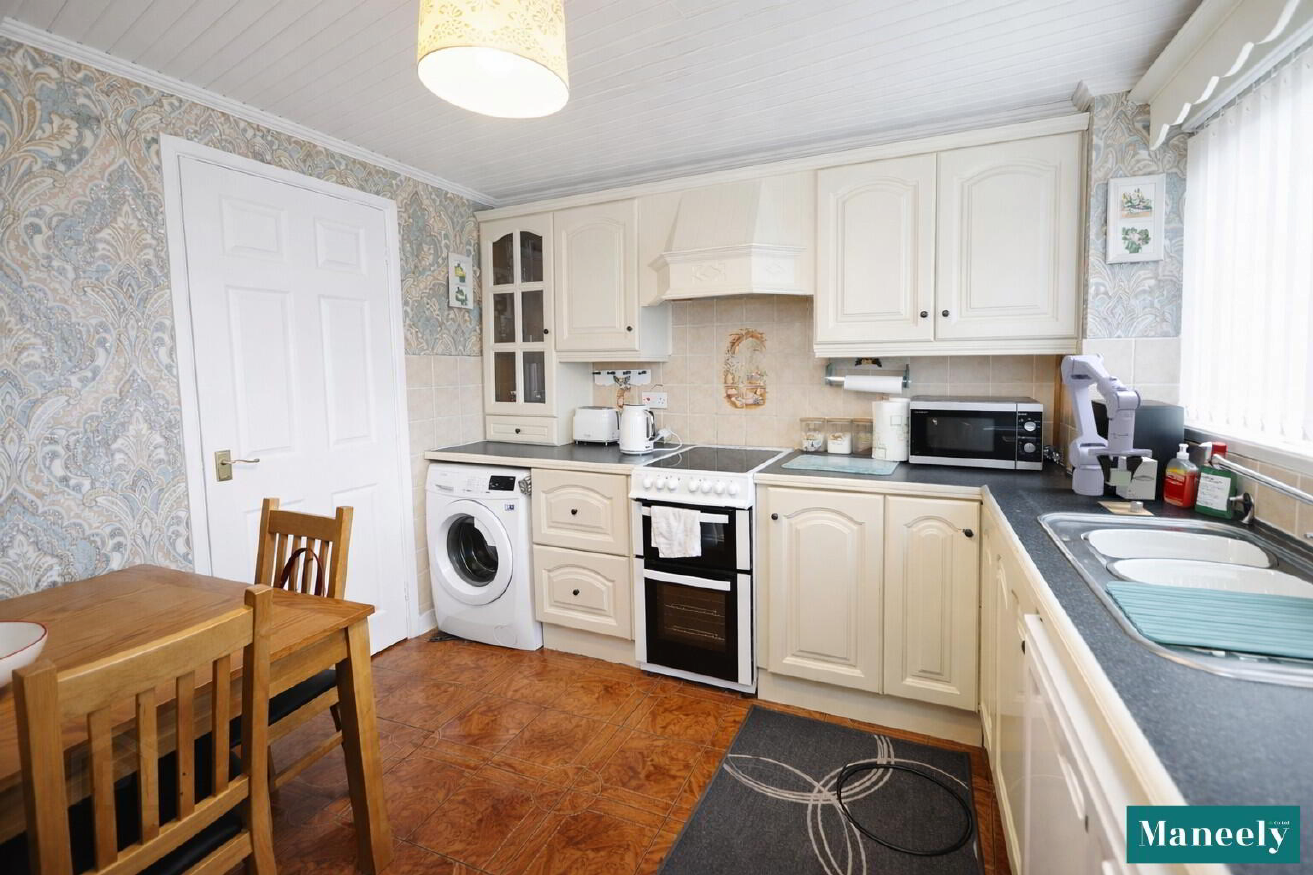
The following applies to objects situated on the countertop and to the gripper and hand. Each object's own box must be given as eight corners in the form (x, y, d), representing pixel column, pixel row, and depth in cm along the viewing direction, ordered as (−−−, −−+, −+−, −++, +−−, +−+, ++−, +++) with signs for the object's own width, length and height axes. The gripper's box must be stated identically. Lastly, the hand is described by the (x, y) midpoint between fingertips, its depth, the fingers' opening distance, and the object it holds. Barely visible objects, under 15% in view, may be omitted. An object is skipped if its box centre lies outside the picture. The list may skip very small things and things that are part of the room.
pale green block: (1105, 482, 182) (1105, 468, 181) (1123, 482, 181) (1124, 468, 180) (1110, 485, 178) (1111, 471, 177) (1130, 486, 176) (1131, 471, 176)
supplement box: (1125, 502, 186) (1128, 460, 184) (1115, 496, 193) (1117, 456, 191) (1155, 503, 184) (1158, 460, 182) (1143, 497, 191) (1146, 456, 189)
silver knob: (1128, 514, 174) (1129, 500, 174) (1139, 514, 174) (1140, 501, 173) (1132, 516, 172) (1133, 503, 171) (1143, 517, 171) (1144, 503, 171)
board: (1097, 505, 184) (1097, 501, 184) (1133, 506, 182) (1134, 502, 181) (1114, 518, 171) (1115, 513, 171) (1154, 519, 168) (1155, 515, 168)
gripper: (1095, 436, 176) (1092, 484, 178) (1158, 436, 171) (1154, 485, 173) (1086, 432, 182) (1084, 478, 184) (1147, 432, 178) (1143, 480, 180)
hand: (1117, 481), depth 179 cm, fingers closed on pale green block, 5 cm apart
